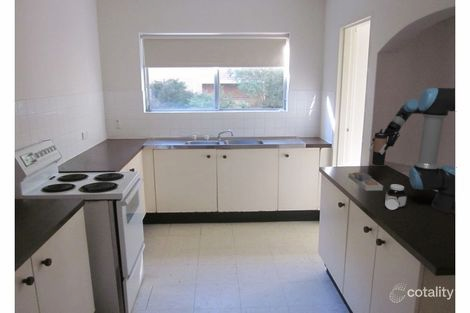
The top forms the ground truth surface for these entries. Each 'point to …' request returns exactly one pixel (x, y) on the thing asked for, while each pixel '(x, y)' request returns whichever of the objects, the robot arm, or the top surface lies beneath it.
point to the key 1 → (357, 174)
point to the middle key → (364, 177)
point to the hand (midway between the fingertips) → (375, 151)
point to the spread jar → (395, 197)
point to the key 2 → (370, 182)
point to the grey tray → (364, 185)
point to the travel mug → (379, 148)
